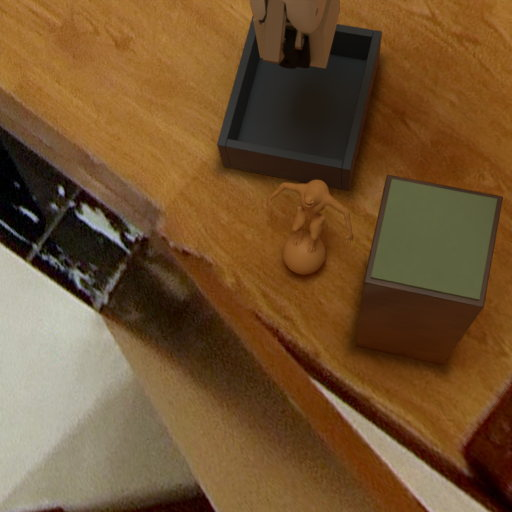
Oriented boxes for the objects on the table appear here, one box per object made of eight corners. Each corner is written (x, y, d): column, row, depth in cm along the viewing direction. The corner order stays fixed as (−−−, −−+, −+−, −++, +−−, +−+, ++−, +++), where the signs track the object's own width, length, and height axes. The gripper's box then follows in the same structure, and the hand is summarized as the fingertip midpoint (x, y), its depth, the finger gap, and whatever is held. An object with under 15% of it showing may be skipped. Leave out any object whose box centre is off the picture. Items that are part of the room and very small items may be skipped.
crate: (379, 59, 87) (382, 30, 82) (349, 191, 83) (350, 170, 78) (258, 38, 89) (254, 9, 84) (223, 167, 85) (216, 144, 80)
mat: (496, 200, 58) (497, 198, 58) (478, 300, 56) (479, 299, 56) (391, 180, 59) (391, 178, 59) (370, 278, 58) (370, 276, 57)
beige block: (340, 10, 72) (339, -31, 67) (325, 69, 70) (324, 31, 65) (275, 0, 73) (269, -41, 67) (259, 58, 71) (252, 19, 66)
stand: (458, 281, 79) (503, 196, 58) (443, 365, 77) (483, 307, 56) (373, 264, 81) (387, 173, 60) (355, 346, 78) (363, 282, 57)
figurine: (256, 259, 82) (243, 216, 70) (284, 205, 83) (276, 155, 72) (335, 296, 80) (335, 258, 69) (362, 240, 81) (367, 194, 70)
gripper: (313, -7, 51) (321, 130, 68) (371, -232, 55) (366, -52, 73) (191, -25, 52) (230, 113, 69) (259, -244, 57) (279, -64, 74)
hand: (299, 27), depth 71 cm, fingers closed on beige block, 5 cm apart
